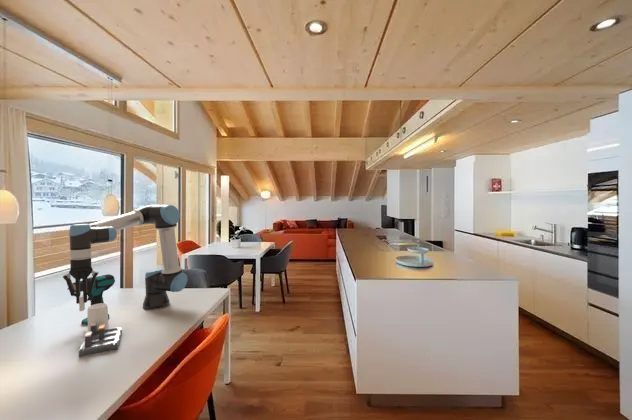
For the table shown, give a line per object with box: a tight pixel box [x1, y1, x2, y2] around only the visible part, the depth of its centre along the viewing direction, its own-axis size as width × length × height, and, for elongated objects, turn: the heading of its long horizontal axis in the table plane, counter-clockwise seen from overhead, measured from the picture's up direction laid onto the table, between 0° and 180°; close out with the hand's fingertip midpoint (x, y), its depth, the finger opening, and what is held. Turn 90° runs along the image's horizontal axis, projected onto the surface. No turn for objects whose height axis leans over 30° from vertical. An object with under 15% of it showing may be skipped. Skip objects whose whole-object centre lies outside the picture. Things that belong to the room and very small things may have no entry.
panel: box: [78, 326, 123, 358], centre depth 143 cm, size 14×20×3 cm
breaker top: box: [84, 331, 93, 347], centre depth 135 cm, size 2×4×5 cm, turn 28°
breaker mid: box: [99, 325, 105, 339], centre depth 143 cm, size 2×4×5 cm, turn 28°
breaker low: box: [91, 322, 97, 335], centre depth 147 cm, size 2×4×5 cm, turn 28°
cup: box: [86, 302, 109, 332], centre depth 154 cm, size 8×8×14 cm
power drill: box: [67, 273, 116, 325], centre depth 169 cm, size 26×9×25 cm, turn 169°
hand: (82, 310), depth 139 cm, fingers closed
